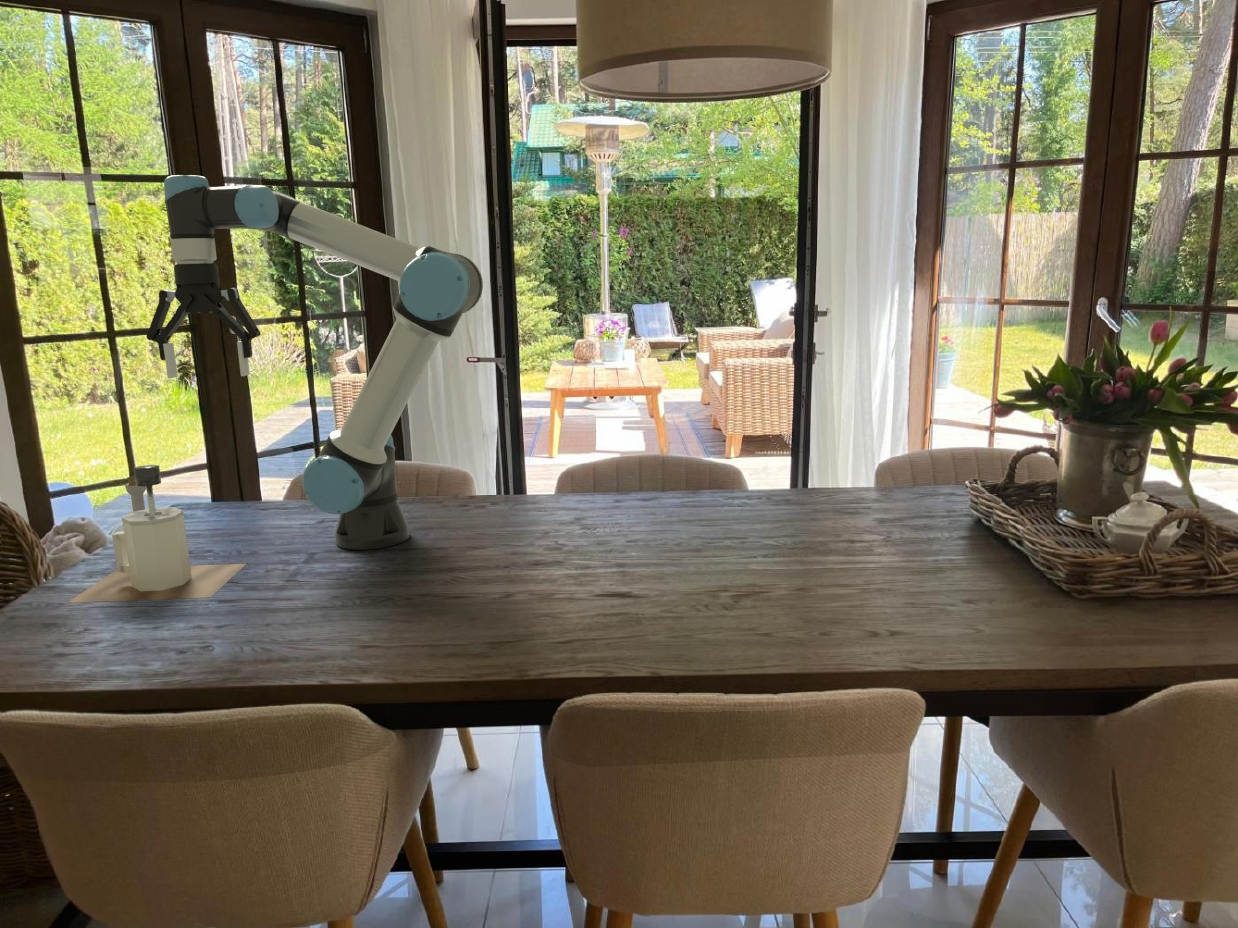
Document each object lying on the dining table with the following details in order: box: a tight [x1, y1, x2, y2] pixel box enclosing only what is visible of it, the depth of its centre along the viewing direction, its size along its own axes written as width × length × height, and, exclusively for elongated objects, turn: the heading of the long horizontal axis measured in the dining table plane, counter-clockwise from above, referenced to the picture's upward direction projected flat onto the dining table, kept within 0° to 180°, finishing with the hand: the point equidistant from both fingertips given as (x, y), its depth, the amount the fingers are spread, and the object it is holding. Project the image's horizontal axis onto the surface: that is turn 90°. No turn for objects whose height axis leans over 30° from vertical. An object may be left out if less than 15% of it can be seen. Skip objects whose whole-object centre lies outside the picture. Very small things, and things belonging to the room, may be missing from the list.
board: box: [67, 563, 247, 604], centre depth 165 cm, size 24×18×2 cm
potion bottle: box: [124, 474, 146, 512], centre depth 180 cm, size 9×9×18 cm
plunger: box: [133, 464, 162, 516], centre depth 162 cm, size 4×4×20 cm
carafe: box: [111, 506, 192, 591], centre depth 163 cm, size 12×9×13 cm
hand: (209, 376), depth 174 cm, fingers open, 13 cm apart
